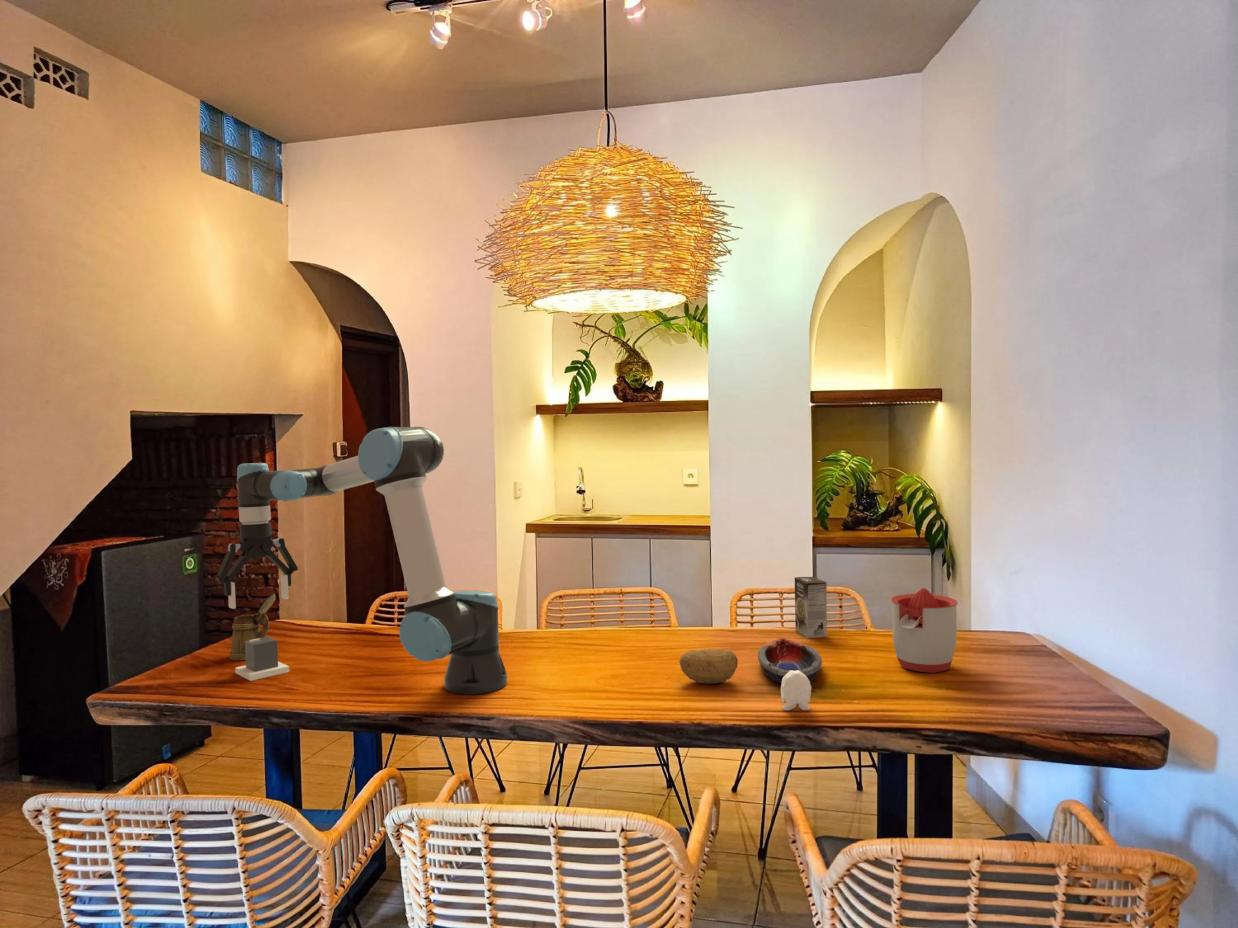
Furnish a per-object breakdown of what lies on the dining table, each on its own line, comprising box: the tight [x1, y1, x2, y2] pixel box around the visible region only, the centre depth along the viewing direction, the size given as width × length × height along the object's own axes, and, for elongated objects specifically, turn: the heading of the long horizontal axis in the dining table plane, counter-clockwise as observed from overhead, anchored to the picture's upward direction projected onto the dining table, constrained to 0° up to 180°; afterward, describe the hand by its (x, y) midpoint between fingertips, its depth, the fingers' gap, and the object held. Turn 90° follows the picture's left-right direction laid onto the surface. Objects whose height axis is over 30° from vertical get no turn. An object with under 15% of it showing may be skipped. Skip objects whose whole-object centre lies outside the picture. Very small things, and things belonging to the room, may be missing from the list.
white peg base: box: [234, 661, 290, 682], centre depth 217 cm, size 10×10×6 cm
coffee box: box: [794, 576, 828, 639], centre depth 242 cm, size 9×6×16 cm
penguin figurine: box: [780, 670, 812, 711], centre depth 182 cm, size 6×8×12 cm
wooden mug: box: [229, 592, 277, 661], centre depth 233 cm, size 9×14×18 cm, turn 84°
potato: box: [678, 648, 739, 685], centre depth 199 cm, size 10×14×8 cm
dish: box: [757, 637, 823, 684], centre depth 207 cm, size 16×31×5 cm, turn 171°
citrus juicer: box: [890, 587, 958, 674], centre depth 206 cm, size 16×17×20 cm
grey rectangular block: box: [245, 636, 279, 672], centre depth 217 cm, size 6×6×8 cm
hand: (259, 603), depth 216 cm, fingers open, 13 cm apart
